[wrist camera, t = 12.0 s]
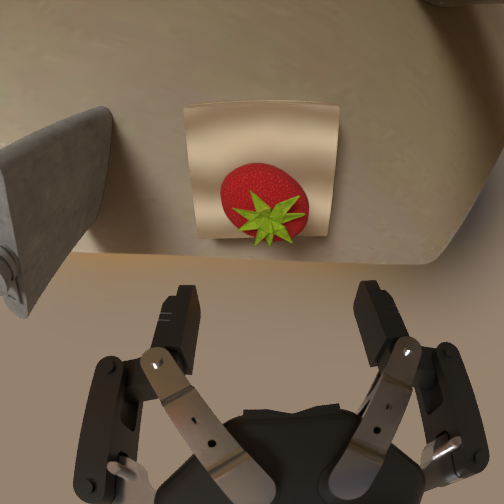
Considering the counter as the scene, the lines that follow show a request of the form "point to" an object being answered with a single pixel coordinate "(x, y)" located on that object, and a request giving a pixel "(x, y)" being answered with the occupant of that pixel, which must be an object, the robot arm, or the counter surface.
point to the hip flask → (49, 201)
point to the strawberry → (264, 202)
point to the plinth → (261, 154)
